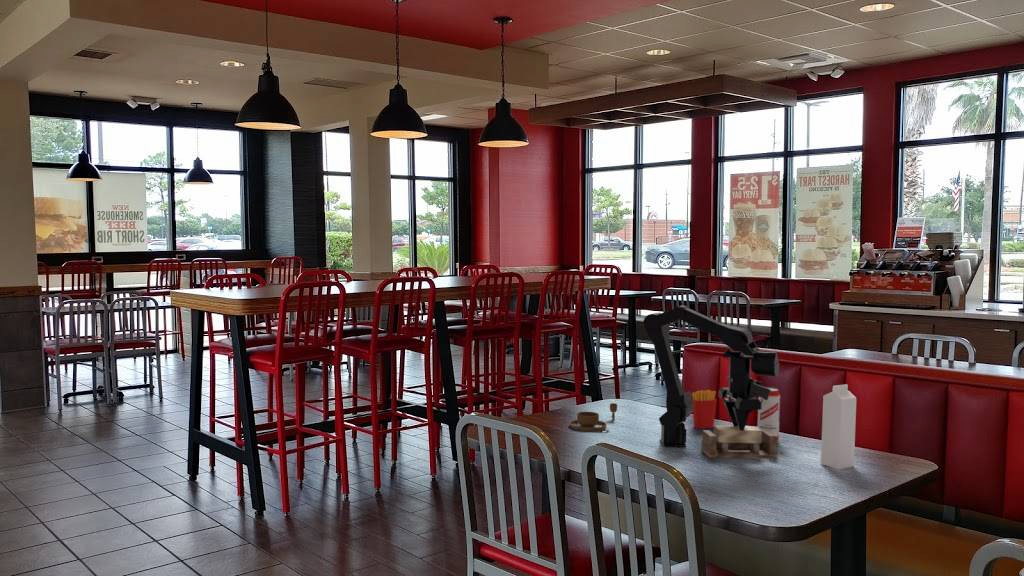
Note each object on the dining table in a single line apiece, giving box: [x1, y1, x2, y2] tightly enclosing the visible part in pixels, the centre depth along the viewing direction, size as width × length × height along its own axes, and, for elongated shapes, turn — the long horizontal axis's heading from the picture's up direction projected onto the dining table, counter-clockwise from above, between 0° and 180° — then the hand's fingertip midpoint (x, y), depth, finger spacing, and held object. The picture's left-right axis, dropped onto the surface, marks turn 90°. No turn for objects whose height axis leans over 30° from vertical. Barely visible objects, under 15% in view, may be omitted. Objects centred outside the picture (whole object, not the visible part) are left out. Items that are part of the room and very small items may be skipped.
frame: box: [700, 429, 778, 459], centre depth 225 cm, size 19×8×6 cm, turn 94°
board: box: [713, 425, 762, 443], centre depth 225 cm, size 12×5×4 cm, turn 88°
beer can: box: [756, 387, 781, 443], centre depth 240 cm, size 6×6×16 cm
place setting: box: [569, 402, 618, 433], centre depth 257 cm, size 18×20×6 cm
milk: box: [820, 383, 857, 471], centre depth 214 cm, size 6×6×22 cm
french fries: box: [691, 389, 718, 429], centre depth 258 cm, size 8×4×12 cm, turn 111°
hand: (738, 428), depth 225 cm, fingers closed on board, 4 cm apart
